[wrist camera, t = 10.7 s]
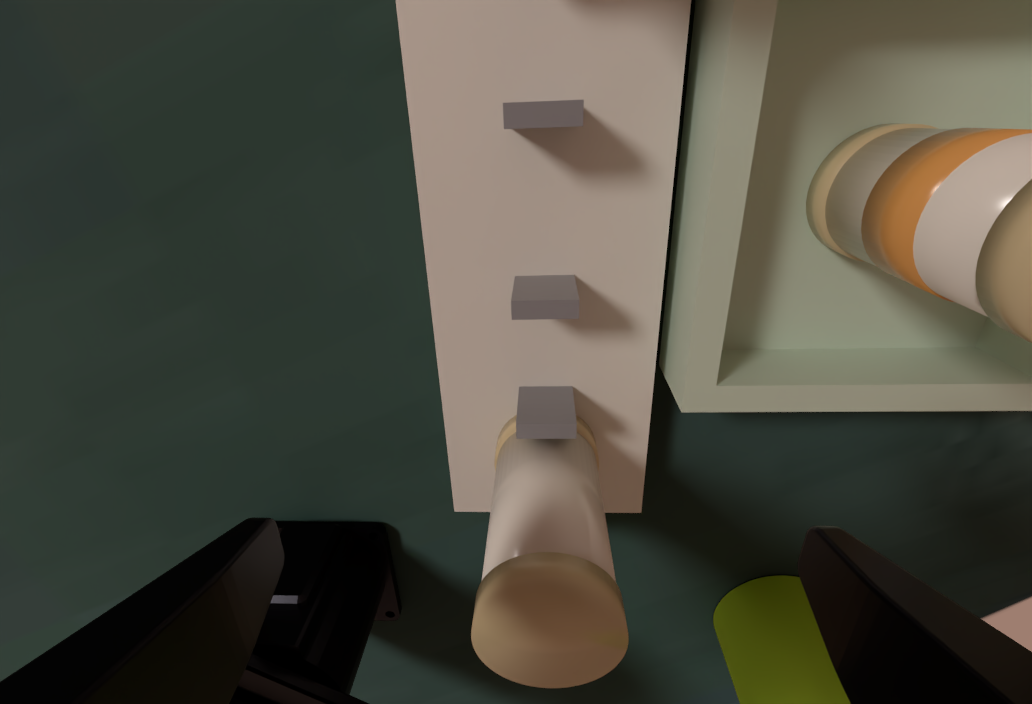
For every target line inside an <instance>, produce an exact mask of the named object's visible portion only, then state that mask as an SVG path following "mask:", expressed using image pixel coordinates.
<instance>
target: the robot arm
mask: <svg viewBox="0 0 1032 704" xmlns="http://www.w3.org/2000/svg"><path fill="white" fill-rule="evenodd" d="M374 533H376V534H374ZM798 573H799V577H800V580H801V583H802V585H803V588H804V591H805V593H806V596H807V599H808V601H809V604H810V606H811V609H812V612H813V614H814V617H815V620H816V622H817V625H818V628H819V630H820V633H821V636H822V638H823V641H824V643H825V646H826V649H827V651H828V654H829V657H830V659H831V662H832V664H833V666H834V669H835V671H836V674H837V676H838V678H839V680H840V682H841V684H842V687H843V689H844V691H845V693H846V695H847V697H848V699H849V701H850V703H851V704H1032V652H1031V651H1029V650H1028V649H1026V648H1024V647H1023V646H1022V645H1020V644H1018V643H1017V642H1015V641H1014V640H1012V639H1011V638H1009V637H1008V636H1006V635H1005V634H1003V633H1001V632H1000V631H998V630H996V629H995V628H994V627H992V626H991V625H989V624H988V623H986V622H985V621H983V620H981V619H980V618H978V617H977V616H975V615H974V614H972V613H971V612H969V611H968V610H966V609H964V608H963V607H961V606H960V605H958V604H957V603H955V602H954V601H952V600H951V599H949V598H948V597H946V596H944V595H943V594H941V593H940V592H938V591H937V590H935V589H934V588H932V587H931V586H929V585H927V584H926V583H924V582H923V581H921V580H920V579H918V578H917V577H915V576H914V575H912V574H911V573H909V572H907V571H906V570H904V569H903V568H901V567H900V566H898V565H897V564H895V563H894V562H892V561H890V560H889V559H887V558H886V557H884V556H883V555H881V554H880V553H878V552H877V551H875V550H874V549H872V548H870V547H869V546H867V545H866V544H864V543H863V542H861V541H860V540H858V539H857V538H855V537H853V536H852V535H850V534H849V533H847V532H846V531H844V530H843V529H841V528H839V527H836V526H812V527H810V528H809V529H808V531H807V533H806V537H805V540H804V543H803V546H802V550H801V553H800V556H799V560H798ZM400 613H401V602H400V597H399V592H398V587H397V582H396V577H395V572H394V567H393V562H392V557H391V552H390V547H389V542H388V536H387V531H386V529H385V527H384V526H383V525H381V524H379V523H373V522H275V521H274V520H273V519H271V518H248V519H246V520H244V521H243V522H241V523H240V524H238V525H237V526H235V527H234V528H232V529H231V530H229V531H227V532H226V533H224V534H223V535H221V536H220V537H218V538H217V539H215V540H214V541H212V542H211V543H209V544H208V545H206V546H205V547H203V548H202V549H200V550H199V551H197V552H196V553H194V554H193V555H191V556H190V557H188V558H187V559H185V560H184V561H182V562H181V563H179V564H178V565H176V566H175V567H173V568H172V569H170V570H169V571H167V572H166V573H164V574H163V575H161V576H160V577H158V578H157V579H155V580H153V581H152V582H150V583H149V584H147V585H146V586H144V587H143V588H141V589H140V590H138V591H137V592H135V593H134V594H132V595H131V596H129V597H128V598H126V599H125V600H123V601H122V602H120V603H119V604H117V605H116V606H114V607H113V608H111V609H110V610H108V611H107V612H105V613H104V614H102V615H101V616H99V617H98V618H96V619H95V620H93V621H92V622H90V623H89V624H87V625H86V626H84V627H82V628H81V629H79V630H78V631H76V632H75V633H73V634H72V635H70V636H69V637H67V638H66V639H64V640H63V641H61V642H60V643H58V644H57V645H55V646H54V647H52V648H51V649H49V650H48V651H46V652H45V653H43V654H42V655H40V656H39V657H37V658H36V659H34V660H33V661H31V662H30V663H28V664H27V665H25V666H24V667H22V668H20V669H19V670H17V671H16V672H14V673H13V674H11V675H10V676H8V677H7V678H5V679H4V680H2V681H1V682H0V704H369V703H366V702H364V701H362V700H359V699H357V698H355V697H353V696H350V692H351V689H352V686H353V682H354V679H355V676H356V673H357V670H358V667H359V664H360V661H361V658H362V655H363V652H364V649H365V646H366V643H367V640H368V637H369V634H370V631H371V628H372V625H373V622H374V620H375V621H394V620H397V619H398V618H399V617H400Z"/></svg>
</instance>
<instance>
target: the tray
mask: <svg viewBox="0 0 1032 704" xmlns="http://www.w3.org/2000/svg"><path fill="white" fill-rule="evenodd" d="M888 123H899V124H924V125H929V126H933V127H936V128H939V129H957V128H998V129H1030V130H1032V0H695V10H694V20H693V30H692V40H691V50H690V60H689V70H688V80H687V90H686V100H685V110H684V120H683V130H682V140H681V149H680V159H679V169H678V179H677V189H676V199H675V209H674V219H673V229H672V239H671V249H670V259H669V269H668V279H667V289H666V298H665V308H664V318H663V328H662V338H661V348H660V358H659V366H660V368H661V370H662V372H663V374H664V377H665V379H666V381H667V383H668V385H669V387H670V389H671V391H672V394H673V396H674V398H675V400H676V402H677V404H678V406H679V408H680V410H681V412H873V411H1032V343H1031V342H1028V341H1026V340H1024V339H1022V338H1020V337H1018V336H1016V335H1013V334H1011V333H1009V332H1007V331H1005V330H1003V329H1001V328H1000V327H999V326H997V325H996V324H995V323H994V322H992V320H991V319H990V318H989V317H987V316H984V315H982V314H980V313H978V312H976V311H973V310H971V309H969V308H967V307H965V306H962V305H960V304H958V303H955V302H950V301H947V300H944V299H942V298H940V297H937V296H935V295H933V294H931V293H929V292H926V291H924V290H922V289H920V288H918V287H916V286H913V285H911V284H909V283H907V282H905V281H903V280H900V279H898V278H896V277H894V276H892V275H890V274H888V273H886V272H884V271H882V270H881V269H880V268H878V267H877V266H875V265H872V264H870V263H868V262H863V261H857V260H854V259H851V258H849V257H847V256H844V255H842V254H840V253H838V252H836V251H834V250H832V249H830V248H828V247H826V246H825V245H823V244H822V243H821V242H820V241H819V240H818V239H817V238H816V237H815V235H814V234H813V233H812V231H811V229H810V226H809V224H808V220H807V215H806V199H807V193H808V190H809V186H810V183H811V181H812V179H813V176H814V174H815V173H816V171H817V169H818V167H819V166H820V165H821V163H822V162H823V160H824V159H825V158H826V157H827V156H828V154H829V153H830V152H831V151H832V150H833V149H834V148H835V147H836V146H838V145H839V144H840V143H841V142H843V141H844V140H845V139H847V138H848V137H850V136H852V135H853V134H855V133H857V132H859V131H861V130H863V129H866V128H869V127H872V126H876V125H880V124H888Z"/></svg>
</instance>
